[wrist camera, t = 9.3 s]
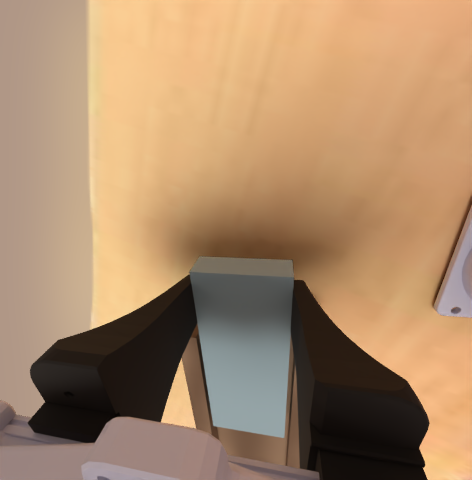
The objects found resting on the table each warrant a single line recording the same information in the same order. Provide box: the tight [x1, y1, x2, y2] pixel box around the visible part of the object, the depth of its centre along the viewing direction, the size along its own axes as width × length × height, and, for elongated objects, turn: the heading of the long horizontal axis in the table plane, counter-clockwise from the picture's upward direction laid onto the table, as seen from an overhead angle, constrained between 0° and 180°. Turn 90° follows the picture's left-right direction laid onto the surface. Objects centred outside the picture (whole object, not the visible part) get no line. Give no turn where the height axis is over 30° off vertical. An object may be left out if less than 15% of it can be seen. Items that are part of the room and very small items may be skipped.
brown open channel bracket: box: [182, 324, 300, 469], centre depth 19 cm, size 9×16×4 cm, turn 3°
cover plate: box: [189, 256, 294, 438], centre depth 14 cm, size 5×13×2 cm, turn 3°
